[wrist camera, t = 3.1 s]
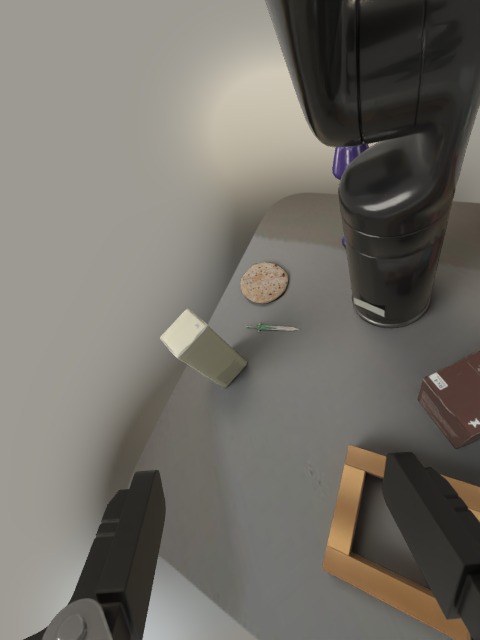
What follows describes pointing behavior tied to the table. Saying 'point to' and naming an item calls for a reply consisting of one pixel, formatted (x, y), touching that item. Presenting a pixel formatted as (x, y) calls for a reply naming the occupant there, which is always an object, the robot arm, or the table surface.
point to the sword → (273, 327)
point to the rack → (370, 574)
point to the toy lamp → (345, 162)
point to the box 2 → (455, 400)
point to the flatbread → (264, 282)
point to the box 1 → (203, 349)
